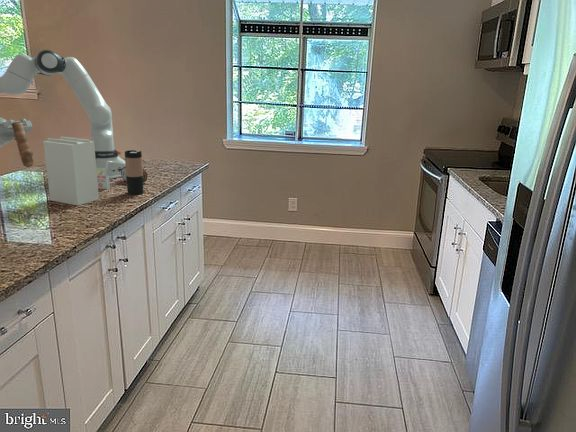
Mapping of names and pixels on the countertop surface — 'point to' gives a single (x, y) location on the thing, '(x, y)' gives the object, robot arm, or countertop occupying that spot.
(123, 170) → the tin
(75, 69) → the robot arm
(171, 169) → the countertop surface
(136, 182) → the travel mug
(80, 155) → the gray stand
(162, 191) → the countertop surface
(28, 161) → the wooden turned rod
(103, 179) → the small grey carton
